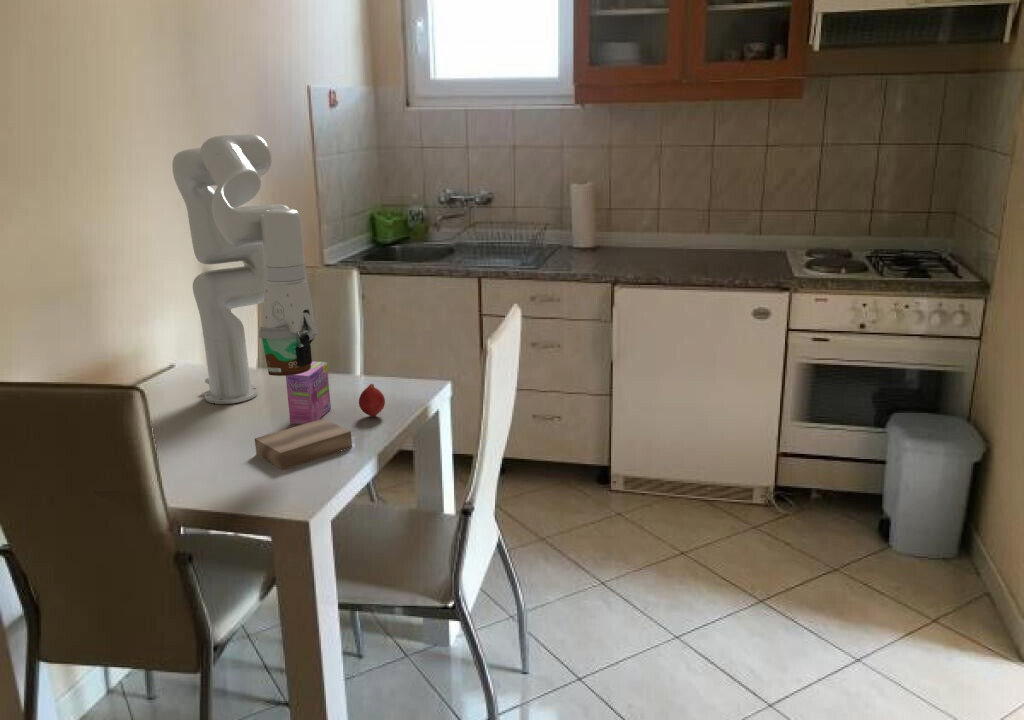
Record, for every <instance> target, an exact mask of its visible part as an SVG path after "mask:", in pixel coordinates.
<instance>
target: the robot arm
mask: <svg viewBox="0 0 1024 720" xmlns="http://www.w3.org/2000/svg"><path fill="white" fill-rule="evenodd" d="M171 164H172V174H173V175H172V176H173V178H174V182H175V185H176V187H177V189H178V191H179V193H180V195H181V197H182V200H183V201H184V204H185V207H186V211H187V216H188V218H187V219H188V223H189V230H190V237H191V244H192V249H193V252H194V256H195V258H196V260H197V262H199V263H200V264H203V265H220V264H229V263H236V262H242V264H243V265H242V266H237V267H228V268H221V269H220V268H219V269H212V270H208V271H203V272H202V273H200V274H198V275H197V276H196V277H195V278H194V279H193V280H192V293H193V297H194V299H195V300H194V301H195V303H196V306H197V310H198V312H199V313H198V314H199V317H200V322H201V323H200V324H201V329H202V335H203V342H204V343H203V344H204V349H205V357H206V365H207V374H208V378H205V380H204V383H205V384H207V385H208V386H209V390H208V391H206V392H205V394H204V400H205V401H206V402H208V403H209V404H214V403H215V405H229V404H237V403H243V402H246V401H249V400H251V399H254V398H255V397H257V396H258V395H259V389H258V387H257V386H255V385H253V384H251V378H250V377H251V376H250V368H249V359H248V351H247V343H246V342H247V341H246V335H245V334H246V333H245V327H244V324H243V322H242V321H241V320H240V318H239V317H237V315H235V314H234V313H233V312H232V310H233V309H237V308H241V307H248V306H253V305H258V304H259V305H260V304H262V303H264V307H263V308H264V317H265V319H264V320H265V325H266V328H280V327H288V330H289V332H290V333H291V334H297V333H298V336H297V337H296V342H297V345H298V347H296V356H297V365H298V366H299V367H302V366H305V365H309V364H311V363H312V361H313V359H312V357H313V356H312V345H313V341H314V339H315V337H316V336H317V335H318V334H319V329H318V327H317V326H316V324H315V316H314V307H313V301H312V295H311V292H310V286H309V283H308V280H307V279H308V278H307V272H306V271H307V270H306V262H305V261H306V259H305V251H304V250H305V249H304V248H305V247H304V239H303V228H302V218H301V214H300V213H299V211H298V210H296V209H293V208H289V206H287V205H285V204H281V203H277V204H265V205H264V204H263V205H262V204H259V205H251V206H243V205H245V204H246V203H249V202H250V201H251V200H252V199H254V198H255V197H256V196H257V194H258V193H259V191H260V189H261V185H262V181H261V177H263V176H264V175H265V174H267V172H268V171H269V170H270V168H271V165H272V152H271V149H270V146H269V145H268V143H267V142H266V140H265V139H264V138H263V137H261V136H260V135H257V134H253V133H252V134H251V133H250V134H233V135H232V134H231V135H216V136H212V137H210V138H208V139H206V140H204V142H203V143H202V145H201V146H200V147H196V148H188V149H185V150H180V151H178V152H177V153H176V154H175V155H174V156H173V159H172V163H171ZM213 187H216V189H214V188H213ZM302 326H305V327H306V329H305V330H304V331H303V332H302V333H306V332H307V334H305V335H304V337H303V338H301V335H300V334H301V333H300V332H299V331H301V330H302ZM310 345H311V346H310Z"/></svg>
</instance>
